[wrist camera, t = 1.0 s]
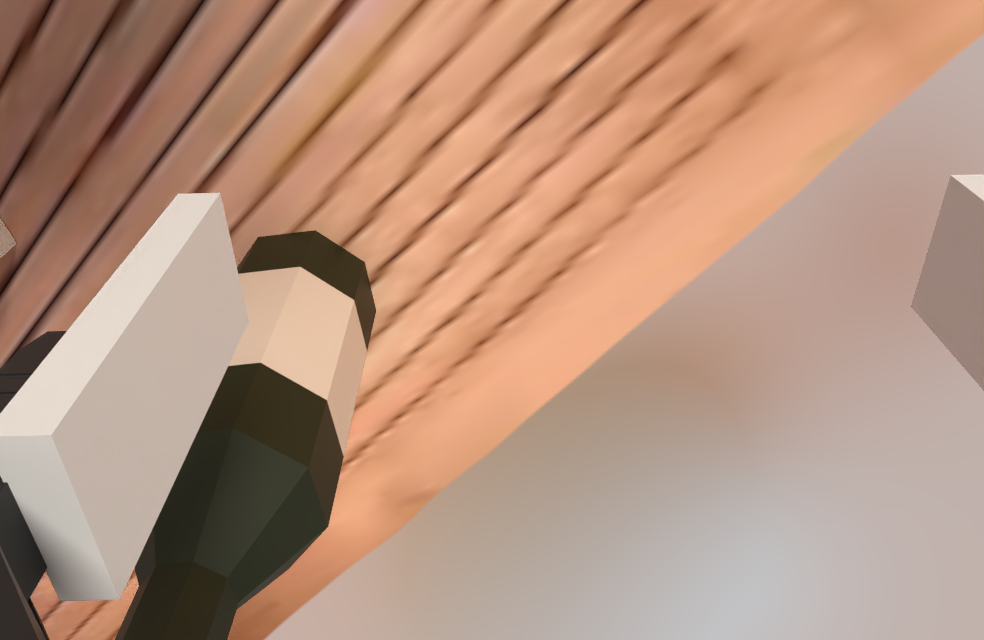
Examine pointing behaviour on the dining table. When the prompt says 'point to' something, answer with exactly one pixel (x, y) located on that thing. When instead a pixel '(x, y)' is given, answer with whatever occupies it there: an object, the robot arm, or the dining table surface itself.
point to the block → (5, 239)
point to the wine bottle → (261, 443)
